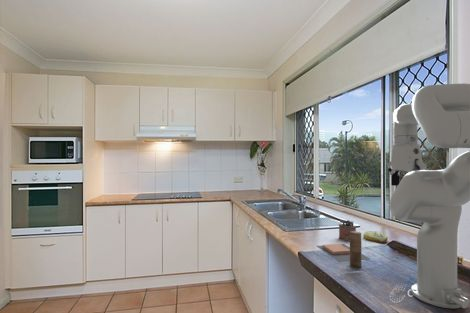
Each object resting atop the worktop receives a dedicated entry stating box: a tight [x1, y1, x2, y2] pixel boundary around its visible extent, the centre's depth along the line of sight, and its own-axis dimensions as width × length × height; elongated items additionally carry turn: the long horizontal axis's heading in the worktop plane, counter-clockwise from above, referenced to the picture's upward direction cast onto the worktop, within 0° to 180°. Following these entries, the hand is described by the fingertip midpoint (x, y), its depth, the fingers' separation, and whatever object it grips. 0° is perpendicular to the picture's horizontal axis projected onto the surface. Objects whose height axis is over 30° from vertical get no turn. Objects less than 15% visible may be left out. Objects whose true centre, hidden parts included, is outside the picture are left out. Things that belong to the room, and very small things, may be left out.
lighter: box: [338, 219, 357, 242], centre depth 134 cm, size 8×3×10 cm, turn 58°
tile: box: [322, 243, 350, 255], centre depth 117 cm, size 9×1×8 cm
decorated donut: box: [362, 230, 389, 244], centre depth 134 cm, size 10×11×4 cm
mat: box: [316, 243, 371, 263], centre depth 116 cm, size 19×14×1 cm
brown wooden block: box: [349, 230, 362, 269], centre depth 101 cm, size 4×4×13 cm
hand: (405, 186), depth 101 cm, fingers open, 9 cm apart
